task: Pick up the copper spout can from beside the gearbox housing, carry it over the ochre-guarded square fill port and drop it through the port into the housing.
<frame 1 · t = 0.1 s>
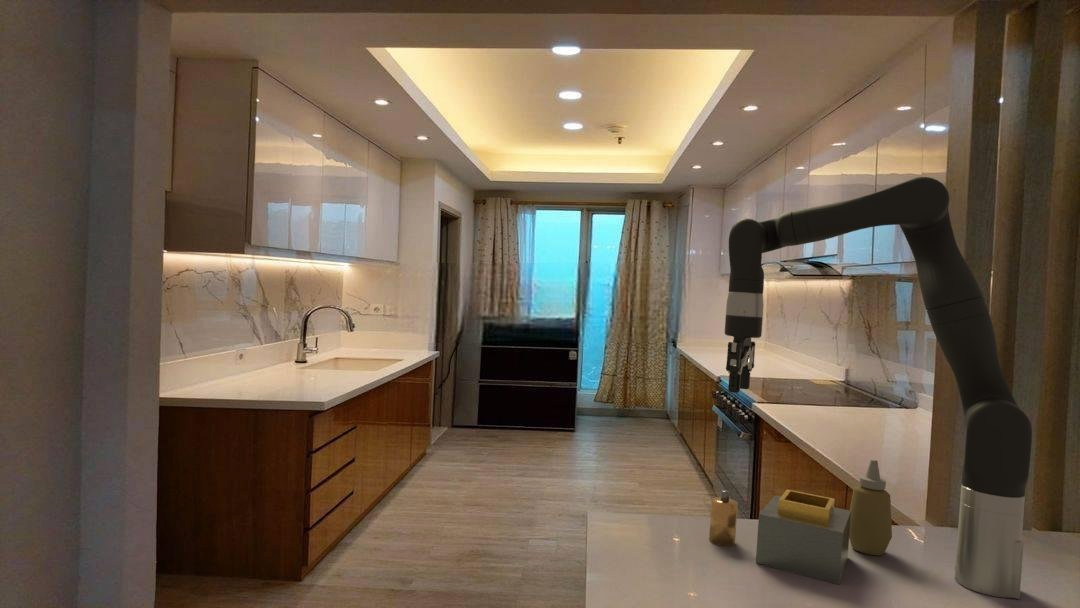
hand: (738, 390, 136), 29 cm above the countertop, fingers open, 8 cm apart
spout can: (722, 541, 128), on the countertop
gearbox: (802, 560, 121), on the countertop
squeeze bottle: (867, 551, 128), on the countertop
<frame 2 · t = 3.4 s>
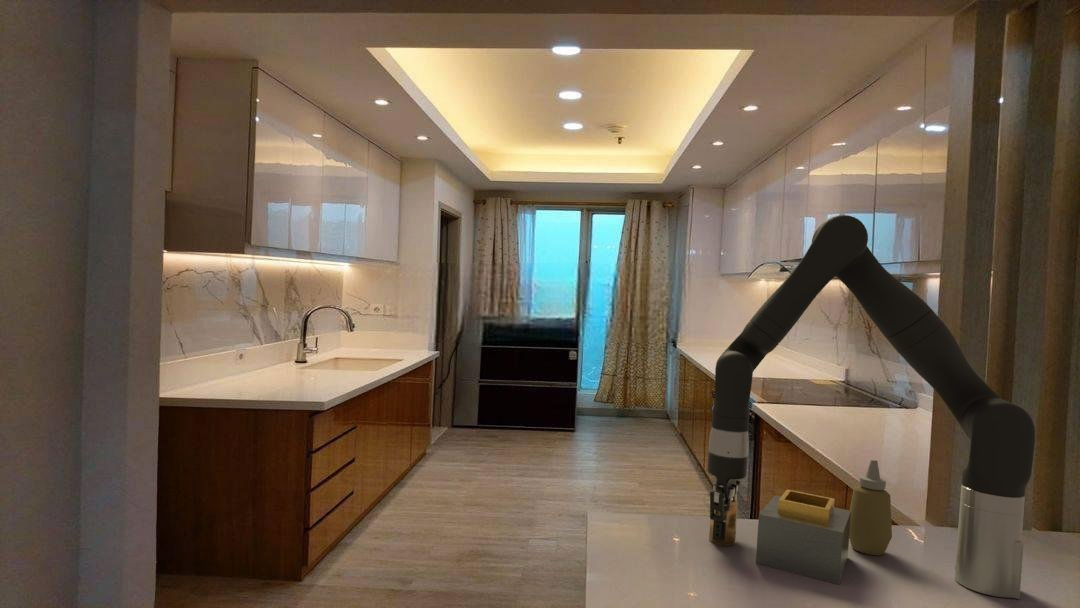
hand: (722, 535, 128), 1 cm above the countertop, fingers closed on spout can, 5 cm apart
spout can: (721, 541, 128), on the countertop, touching gripper
everything else where it was.
when the fingers open (14 cm above the countertop, at t = 8.6 s): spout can drops 13 cm, resting in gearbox.
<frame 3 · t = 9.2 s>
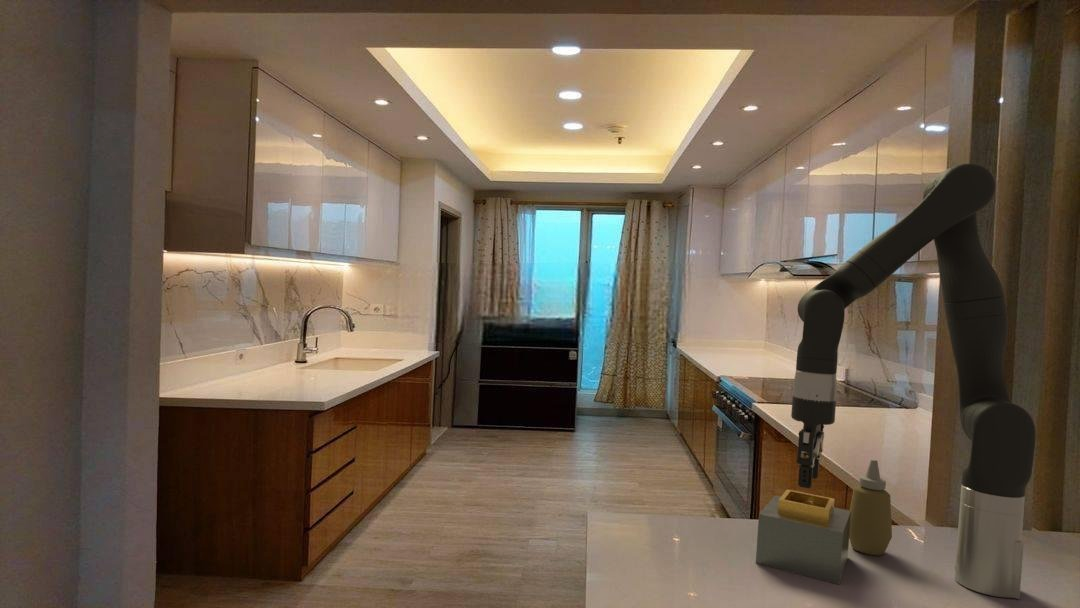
hand: (808, 482, 120), 15 cm above the countertop, fingers open, 8 cm apart
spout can: (802, 560, 120), resting in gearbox
everything else where it was.
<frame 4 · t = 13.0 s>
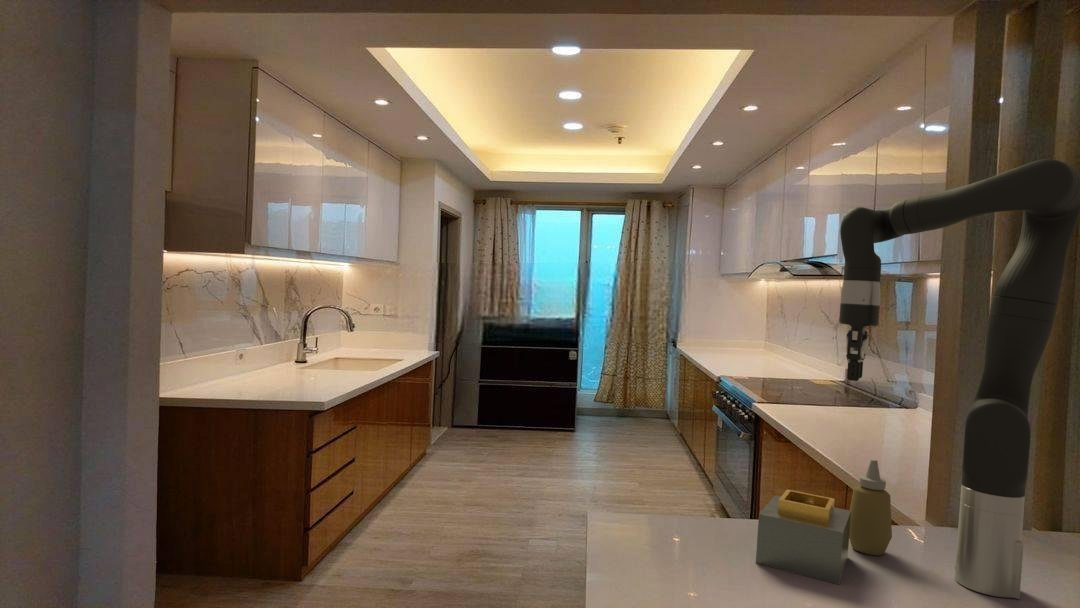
hand: (854, 379, 136), 33 cm above the countertop, fingers open, 8 cm apart
nothing on the countertop moved.
at the end: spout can inside the target area on the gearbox (0.3 cm from its centre), point 0.0 cm above the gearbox's base; the gripper is holding nothing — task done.
